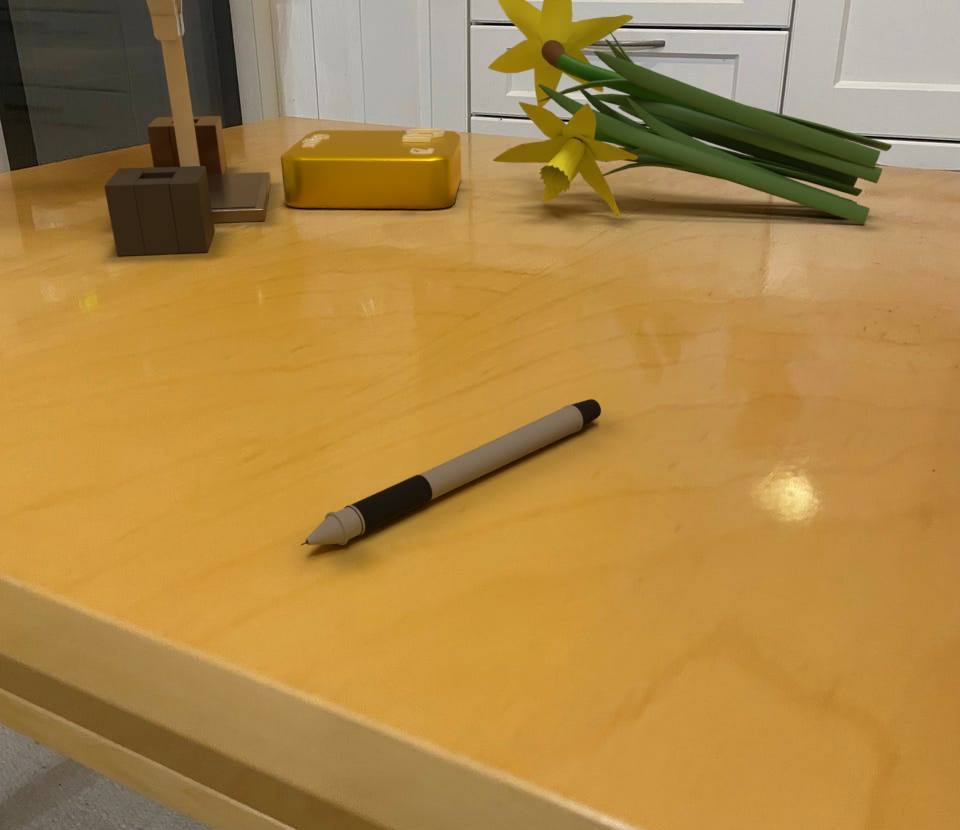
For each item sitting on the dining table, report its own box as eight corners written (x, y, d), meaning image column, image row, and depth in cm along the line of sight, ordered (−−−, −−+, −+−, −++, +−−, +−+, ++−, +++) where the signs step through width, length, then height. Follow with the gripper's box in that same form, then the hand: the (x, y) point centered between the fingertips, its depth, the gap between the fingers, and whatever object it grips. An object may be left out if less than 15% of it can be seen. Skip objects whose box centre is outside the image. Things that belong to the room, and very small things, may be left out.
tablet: (113, 227, 76) (111, 213, 75) (143, 186, 90) (141, 175, 89) (264, 221, 78) (263, 207, 77) (270, 182, 91) (269, 171, 91)
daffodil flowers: (877, 261, 70) (431, 117, 70) (807, 306, 85) (438, 187, 85) (944, 49, 70) (501, -94, 71) (863, 130, 85) (496, 12, 85)
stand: (155, 180, 92) (146, 126, 90) (164, 168, 98) (156, 117, 95) (222, 178, 93) (215, 124, 91) (227, 166, 99) (220, 115, 96)
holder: (117, 256, 68) (103, 185, 66) (131, 234, 74) (119, 168, 71) (207, 252, 69) (197, 182, 67) (214, 231, 75) (205, 165, 72)
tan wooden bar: (183, 192, 79) (154, 5, 72) (185, 188, 81) (157, 4, 74) (202, 191, 79) (175, 5, 72) (204, 188, 81) (178, 4, 74)
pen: (604, 425, 43) (606, 399, 43) (313, 568, 33) (310, 536, 32) (581, 417, 44) (583, 391, 43) (291, 553, 34) (287, 522, 33)
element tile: (313, 175, 94) (309, 124, 92) (462, 176, 94) (461, 125, 92) (280, 209, 81) (274, 151, 79) (453, 210, 81) (452, 152, 78)
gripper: (118, -159, 76) (148, 31, 83) (61, -197, 58) (105, 49, 65) (198, -158, 77) (221, 30, 84) (166, -195, 59) (199, 48, 66)
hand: (170, 39), depth 74 cm, fingers closed on tan wooden bar, 1 cm apart
